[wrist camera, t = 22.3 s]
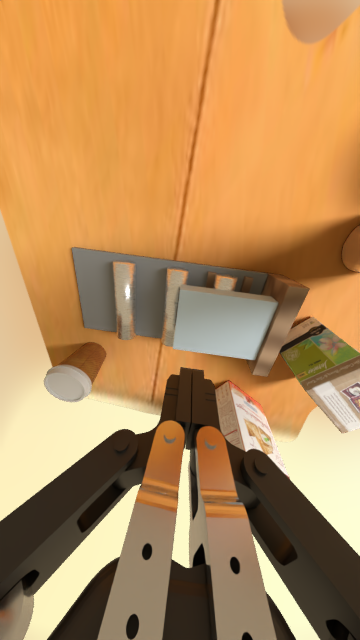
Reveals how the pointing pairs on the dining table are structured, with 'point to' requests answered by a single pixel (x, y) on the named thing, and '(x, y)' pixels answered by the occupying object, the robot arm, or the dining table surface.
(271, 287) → the wooden stops
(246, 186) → the dining table surface
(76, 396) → the disposable coffee cup
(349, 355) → the tea box
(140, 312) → the mat
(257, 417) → the cracker box
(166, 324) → the bed rollers
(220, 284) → the roller
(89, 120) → the dining table surface
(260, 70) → the dining table surface
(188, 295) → the slab
